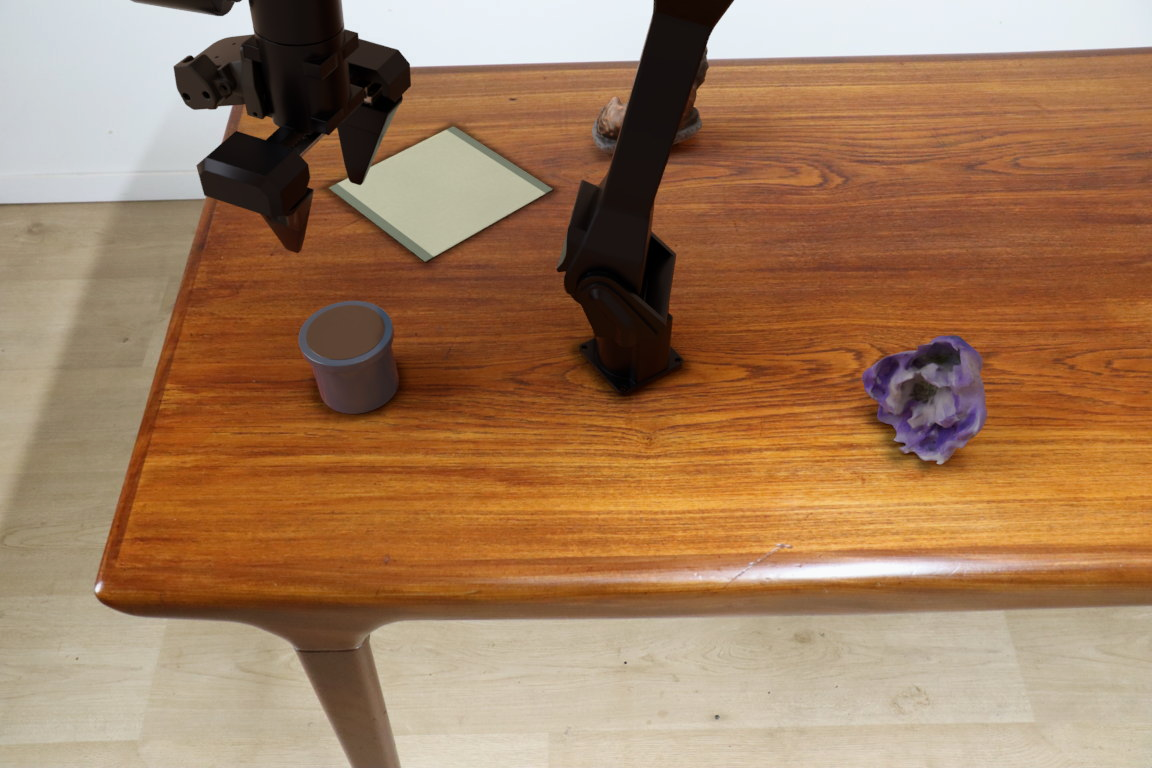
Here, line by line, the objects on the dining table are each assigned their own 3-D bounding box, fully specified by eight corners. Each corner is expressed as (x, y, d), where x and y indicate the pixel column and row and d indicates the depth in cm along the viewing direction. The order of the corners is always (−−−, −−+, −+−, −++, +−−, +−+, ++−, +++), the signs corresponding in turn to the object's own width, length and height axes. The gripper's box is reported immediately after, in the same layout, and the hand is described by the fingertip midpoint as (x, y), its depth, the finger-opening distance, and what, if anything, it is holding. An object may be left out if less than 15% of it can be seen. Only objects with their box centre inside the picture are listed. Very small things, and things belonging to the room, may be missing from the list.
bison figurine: (602, 170, 97) (603, 81, 90) (582, 134, 102) (582, 45, 94) (711, 150, 99) (721, 61, 92) (687, 115, 104) (695, 28, 96)
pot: (419, 393, 77) (408, 340, 72) (336, 431, 74) (320, 379, 69) (380, 341, 81) (368, 287, 76) (301, 375, 78) (283, 322, 74)
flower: (938, 290, 74) (926, 321, 66) (1021, 366, 73) (1020, 408, 65) (854, 368, 79) (832, 407, 70) (931, 441, 78) (919, 488, 69)
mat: (552, 189, 95) (552, 189, 95) (425, 262, 88) (425, 261, 88) (453, 126, 103) (453, 126, 103) (328, 188, 96) (328, 187, 96)
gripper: (271, -60, 69) (300, 126, 80) (95, 57, 57) (159, 256, 68) (409, -24, 67) (418, 162, 78) (257, 107, 55) (295, 303, 66)
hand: (326, 215), depth 73 cm, fingers open, 9 cm apart
